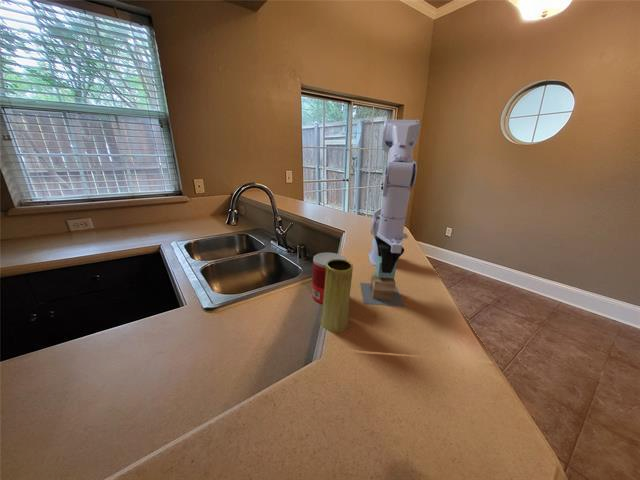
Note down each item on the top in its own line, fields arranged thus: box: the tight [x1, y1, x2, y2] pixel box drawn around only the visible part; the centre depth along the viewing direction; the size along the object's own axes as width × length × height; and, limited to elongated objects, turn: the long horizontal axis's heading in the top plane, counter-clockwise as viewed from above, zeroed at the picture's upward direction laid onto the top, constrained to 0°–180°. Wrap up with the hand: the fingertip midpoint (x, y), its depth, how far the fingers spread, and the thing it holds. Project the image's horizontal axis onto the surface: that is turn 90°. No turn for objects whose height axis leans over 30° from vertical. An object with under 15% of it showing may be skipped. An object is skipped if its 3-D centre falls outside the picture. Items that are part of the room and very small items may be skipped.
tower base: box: [370, 281, 394, 300], centre depth 65 cm, size 5×5×2 cm
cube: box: [375, 256, 398, 279], centre depth 62 cm, size 4×4×4 cm
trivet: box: [359, 282, 406, 308], centre depth 65 cm, size 10×10×1 cm
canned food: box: [311, 252, 347, 306], centre depth 61 cm, size 8×8×11 cm
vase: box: [320, 259, 354, 333], centre depth 51 cm, size 6×6×14 cm
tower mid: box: [370, 271, 396, 291], centre depth 64 cm, size 5×5×2 cm
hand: (384, 268), depth 62 cm, fingers closed on cube, 4 cm apart
